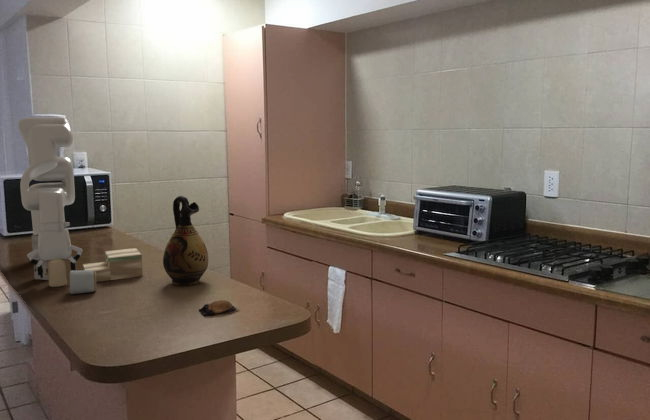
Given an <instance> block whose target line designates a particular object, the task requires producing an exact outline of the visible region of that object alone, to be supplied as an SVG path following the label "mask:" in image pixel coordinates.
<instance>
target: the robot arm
mask: <svg viewBox="0 0 650 420" xmlns="http://www.w3.org/2000/svg"><path fill="white" fill-rule="evenodd" d="M17 128H18V130H19V133H20V136H21V137H22V139H23V140H24V143H25V144H26V147H27V155H28V156H27V157H28V159H27V160H28V167H27V168H26V170H25V171H24V172H23V173H22V176H21V179H20V185H19V186H20V187H19V188H20V197H21V204H22V207H23V208H24V209H25V210H27V211H28V212H29V211H30V213H31V223H32V235H36V234H39V235H38V248H37V249H36V250H34V251H33V250H32V251H30V252H28V253H27V254H26V257H27V258H28V259H29V261H30V263H32V265H33V266H34V265H36V266H37V268H38V276H39V275H40V276H41V278H43V272H42V265H41V264H42V263H43V262H44V261H49V260H54V259H64V260H65V259H66V260H67V259H68V260H69V261H70V262H69V263H70V266H69V267H70V271H77V269H76V262H77V261H78V260H79V259H80V258H81V255H82V253H83V252H84V250H83V249H82V248H81V247H78V246H75V245H73V244H71V236H70V232H69V230H68V227H70V225H71V223H70V221H69V222H68V221H66V218H65V206H69V205H72V204H74V202H75V201H76V200H75V199H76V192H75V191H76V188H75V172H74V166H73V161H72V160H71V159H70V158H69V157H67V156H58V153H57V148H67V147H71V146H72V144H73V140H74V139H73V138H74V137H73V136H74V135H73V131H72V127H71V125H70V122H69V121H68V119H67V118H65V117H58V116H57V117H52V116H51V117H46V116H45V117H43V116H39V117H38V116H36V117H34V116H33V117H24V118H21V119H19V121H18V127H17ZM32 180H34V181H35V182H36V181H37V182H42V183H35V184H32V185H30V183H31V182H32ZM50 181H51V182H50ZM52 181H53V182H52ZM54 181H61V182H54ZM43 182H44V183H43ZM72 250H73V251H75V252H76V254H75V255H74V256H72V255H73V254H72ZM37 253H39V257H40V259H39V260H38V261H37V260H35V259H34V258H33V256H34V255H35V254H37Z"/></svg>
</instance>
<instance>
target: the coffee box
mask: <svg viewBox="0 0 650 420" xmlns="http://www.w3.org/2000/svg"><path fill="white" fill-rule="evenodd" d="M38 235H39V234H36V235H33V234H32V235H31V250H32V251H34V250H36V249H37V248H38ZM33 258H34V259H35V260H37V261H38V260H39V259H40V257H39V253H37V254H35V255H34V256H33ZM41 265H42V272H43V278H41V276H40V275H39V276H38V268H37V266H36V265H34V264H33V273H34V280H42V281H44V280H45V281H49V277H48V265H47V261H44V262H43V263H42V264H41Z"/></svg>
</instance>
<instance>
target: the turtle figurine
mask: <svg viewBox="0 0 650 420" xmlns="http://www.w3.org/2000/svg"><path fill="white" fill-rule="evenodd" d="M239 311H240V310H239V309H238V308H237V307H235V306H234V305H233V303H232V302H230V301H229V300H226V299H220V300H214V301H212V302H211V303H209V304H208V303H207V304H204V305H203V306H202V307H201V308H200V309H198V312H199V313H200V314H201V316H203V317H205V318H210V317H215V316H217V317H218V316H223V315H228V314H232V313H236V312H239Z"/></svg>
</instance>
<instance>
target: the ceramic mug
mask: <svg viewBox="0 0 650 420" xmlns="http://www.w3.org/2000/svg"><path fill="white" fill-rule="evenodd" d="M96 291H97V282H96V272H95V271H92V270H76V271H71V270H70V271H69V292H70V293H69V294H70V295H76V294H87V293H93V292H96Z"/></svg>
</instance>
